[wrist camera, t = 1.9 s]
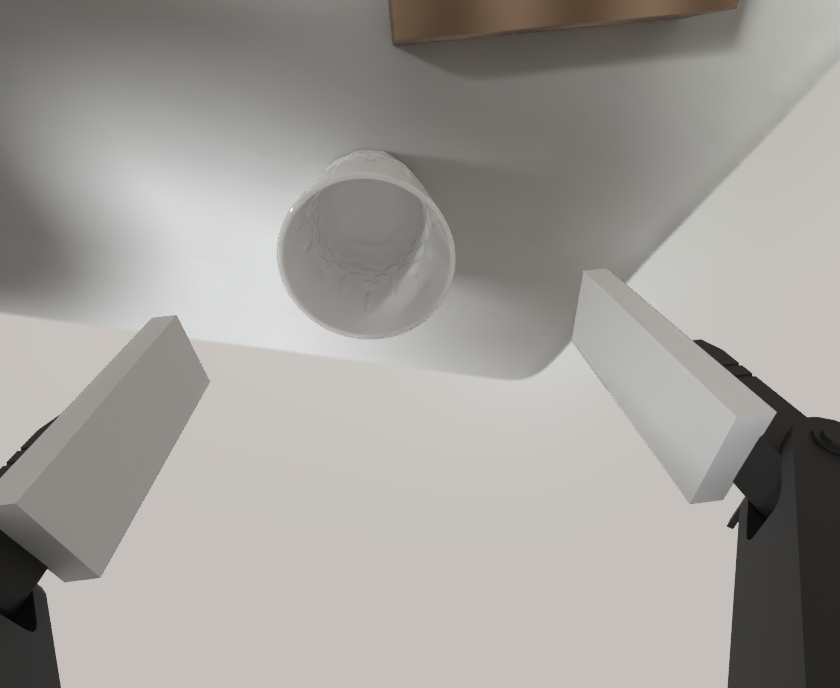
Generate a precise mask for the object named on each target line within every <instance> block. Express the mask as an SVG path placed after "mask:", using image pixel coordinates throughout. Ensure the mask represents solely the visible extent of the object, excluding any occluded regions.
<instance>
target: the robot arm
mask: <svg viewBox="0 0 840 688" xmlns="http://www.w3.org/2000/svg"><path fill="white" fill-rule="evenodd" d="M572 342H573V343H574V345H575V346H576V347H577V349H578V350H579V351H580V353H581V354H582V356H583V357H584V358H585V360H586V361H587V363H588V364H589V365H590V367H591V368H592V370H593V371H594V372H595V374H596V375H597V376H598V378H599V379H600V380H601V382H602V383H603V385H604V386H605V387H606V389H607V390H608V391H609V393H610V394H611V396H612V397H613V399H614V400H615V401H616V403H617V404H618V405H619V407H620V408H621V410H622V411H623V412H624V414H625V415H626V416H627V418H628V419H629V421H630V422H631V423H632V425H633V426H634V428H635V429H636V430H637V432H638V433H639V434H640V436H641V437H642V439H643V440H644V441H645V443H646V444H647V446H648V447H649V448H650V450H651V451H652V452H653V454H654V455H655V457H656V458H657V459H658V461H659V462H660V463H661V465H662V466H663V468H664V469H665V470H666V472H667V473H668V474H669V476H670V477H671V478H672V480H673V481H674V483H675V484H676V486H677V487H678V488H679V490H680V491H681V492H682V494H683V495H684V497H685V498H686V499H687V501H688V502H689V504H694V503H702V502H710V501H717V500H723V499H724V498H725V496H726V494H727V493H728V491H729V489H730V487H731V486H732V484H733V483H734V484H735V485H736V486H737V487H738V488H739V489H740V491H741V492H742V493H743V494H744V495H745V498H744V499H743V501H742V502H741V504H740V505H739V507H738V508H737V510H736V511H735V513H734V514H733V516H732V518H731V519H730V521H729V523H728V525H727V527H729V528H732V529H733V528H734V527H735V525H736V524H737V522H739V528H738V543H737V558H736V573H735V589H734V602H733V618H732V632H731V633H732V634H731V648H730V662H729V677H728V688H840V422H837V421H835V420H830V419H825V418H819V417H809V418H808V417H806V416H804V415H803V414H802V413H801V412H799V411H798V410H797V409H796V408H794V407H793V406H792V405H791V404H790V403H788V402H787V401H786V400H785V399H783V398H782V397H781V396H779V395H778V394H777V393H776V392H775V391H773V390H772V389H771V388H769V387H768V386H767V385H766V384H764V383H763V382H762V381H761V380H759V379H758V378H757V377H753V376H752V373H751V372H750V371H748V370H747V369H746V368H744V367H743V366H739V363H738V362H737V361H736V360H734V359H733V358H732V357H731V356H729V355H728V354H727V353H726V352H724V351H723V350H722V349H720V348H718V347H715V346H713V345H711V344H709V343H707V342H705V341H703V340H691V339H690V338H689V337H688V336H686V335H685V334H684V333H683V332H682V331H680V330H679V329H678V328H677V327H676V326H674V325H673V324H672V323H671V322H670V321H668V320H667V319H666V318H665V317H664V316H663V315H662V314H660V313H659V312H658V311H657V310H656V309H654V308H653V307H652V306H651V305H650V304H648V303H647V302H646V301H645V300H644V299H643V298H641V297H640V296H639V295H638V294H637V293H636V292H634V291H633V290H632V289H631V288H630V287H628V286H627V285H626V284H625V283H624V282H623V281H621V280H620V279H619V278H618V277H617V276H615V275H614V274H613V273H612V272H611V271H610V270H608V269H607V268H601V269H592V270H583V276H582V282H581V287H580V293H579V299H578V305H577V311H576V317H575V322H574V328H573V334H572ZM209 383H210V381H209V379H208V377H207V375H206V373H205V371H204V369H203V367H202V365H201V363H200V361H199V359H198V357H197V355H196V353H195V351H194V349H193V347H192V345H191V343H190V341H189V339H188V337H187V335H186V333H185V331H184V329H183V327H182V325H181V323H180V321H179V319H178V317H177V315H174V316H165V317H156V318H152V319H151V320H150V321H149V322H148V323H147V324H146V325H145V326H144V327H143V328H142V329H141V330H140V331H139V332H138V333H137V334H136V335H135V337H134V338H133V339H132V340H131V341H130V342H129V343H128V344H127V345H126V346H125V347H124V348H123V349H122V350H121V351H120V352H119V353H118V355H117V356H116V357H115V358H114V359H113V360H112V361H111V362H110V363H109V364H108V365H107V366H106V367H105V368H104V369H103V370H102V371H101V372H100V373H99V375H98V376H97V377H96V378H95V379H94V380H93V381H92V382H91V383H90V384H89V385H88V386H87V387H86V388H85V389H84V390H83V391H82V392H81V394H80V395H79V396H78V397H77V398H76V399H75V400H74V401H73V402H72V403H71V404H70V405H69V406H68V407H67V408H66V409H65V411H63V412H62V414H60V415H59V416H58V417H56V418H55V419H53V420H52V421H50V422H49V423H48V424H46V425H45V426H43V427H42V428H40V429H39V430H38V431H37V432H36V433H35V434H34V435H33V436H32V437H31V438H30V439H29V440H28V441H27V442H26V443H25V444H24V445H23V446H22V447H21V451H17V452H16V453H15V454H14V455H13V456H12V457H11V459H9V460H8V461H7V466H3V467H2V468H1V469H0V688H61V687H60V680H59V674H58V667H57V661H56V655H55V648H54V642H53V636H52V629H51V623H50V616H49V610H48V604H47V598H46V593H45V592H44V590H43V589H42V587H40V586H39V585H38V584H37V583H38V582H39V580H40V579H41V577H42V576H43V574H44V573H45V571H46V570H47V569H49V570H50V571H51V572H53V573H54V574H55V575H56V576H57V577H59V578H60V579H61V580H62V581H64V582H70V581H77V580H86V579H94V578H100V577H101V575H102V573H103V572H104V570H105V568H106V566H107V565H108V563H109V561H110V559H111V558H112V556H113V554H114V552H115V550H116V549H117V547H118V545H119V543H120V542H121V540H122V538H123V536H124V534H125V533H126V531H127V529H128V527H129V525H130V524H131V522H132V520H133V518H134V516H135V515H136V513H137V511H138V509H139V507H140V506H141V504H142V502H143V500H144V499H145V497H146V495H147V493H148V491H149V490H150V488H151V486H152V484H153V483H154V481H155V479H156V477H157V475H158V474H159V472H160V470H161V468H162V466H163V464H164V463H165V461H166V459H167V458H168V456H169V454H170V452H171V450H172V448H173V447H174V445H175V443H176V441H177V440H178V438H179V436H180V434H181V433H182V430H183V429H184V427H185V425H186V424H187V422H188V420H189V418H190V416H191V415H192V413H193V411H194V409H195V408H196V406H197V404H198V402H199V400H200V399H201V397H202V395H203V393H204V391H205V389H206V388H207V386H208V384H209Z"/></svg>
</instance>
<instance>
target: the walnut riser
mask: <svg viewBox="0 0 840 688" xmlns="http://www.w3.org/2000/svg"><path fill="white" fill-rule="evenodd" d="M738 2H739V0H389V9H390V20H391V30H392V41H393V45H402V44H413V43H423V42H434V41H445V40H455V39H466V38H476V37H487V36H497V35H508V34H519V33H529V32H540V31H550V30H561V29H571V28H582V27H593V26H603V25H614V24H624V23H635V22H645V21H656V20H667V19H677V18H685V17H690V16H696V15H701V14H707V13H712V12H718V11H723V10H729V9H734V8H737V5H738Z"/></svg>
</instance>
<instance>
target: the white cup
mask: <svg viewBox="0 0 840 688" xmlns="http://www.w3.org/2000/svg"><path fill="white" fill-rule="evenodd" d="M277 261H278V268H279V272H280V276H281V279H282V282H283V284H284V286H285V288H286V290H287V292H288V294H289V296H290V297H291V299H292V300H293V302H294V303H295V304H296V305H297V307H298V308H299V309H300V310H301V311H302V312H303V313H304V314H305V315H306V316H307V317H309V318H310V319H311V320H313V321H314V322H315V323H317V324H318V325H320V326H322V327H324V328H325V329H327V330H330V331H332V332H334V333H337V334H340V335H343V336H347V337H351V338H358V339H381V338H388V337H392V336H396V335H399V334H402V333H404V332H407V331H409V330H411V329H413V328H415V327H416V326H418V325H420V324H421V323H422V322H424V321H425V320H426V319H428V318H429V317H430V316H431V315H432V314H433V313H434V312H435V311H436V310H437V308H438V307H439V306H440V305H441V303H442V302H443V300H444V299H445V297H446V295H447V293H448V291H449V289H450V286H451V284H452V280H453V277H454V272H455V262H456V255H455V246H454V241H453V237H452V233H451V231H450V228H449V226H448V224H447V222H446V220H445V218H444V216H443V215H442V213H441V212H440V210H439V209H438V207H437V206H436V204H435V203H434V201H433V200H432V198H431V197H430V195H429V194H428V192H427V191H426V189H425V187H424V186H423V185H422V183H421V182H420V181H419V180H418V178H417V177H416V176H415V175H414V174H413V173H412V172H411V171H410V170H409V169H408V167H407V166H406V164H404V163H402V162H401V161H399V160H397V159H396V158H394V157H393V156H391V155H389V154H388V153H386V152H385V151H375V150H362V149H358V150H356V151H354V152H352V153H349V154H347V155H345V156H343V157H340V158H338V159H336V160H335V162H334V163H332V164H331V165H330V166H328V167H327V168H326V169H325V170H324V171H323V172H322V173H321V174H320V175H319V176H318V177H317V178H316V179H315V180H314V181H313V183H312V184H311V185H310V186H309V187H308V188H307V190H306V191H305V192H304V193H303V194H302V195H301V197H300V198H299V199H298V200H297V201H296V202H295V203H294V205H293V206H292V207H291V209H290V210H289V212H288V214H287V215H286V217H285V219H284V221H283V224H282V227H281V230H280V233H279V237H278V244H277Z"/></svg>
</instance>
